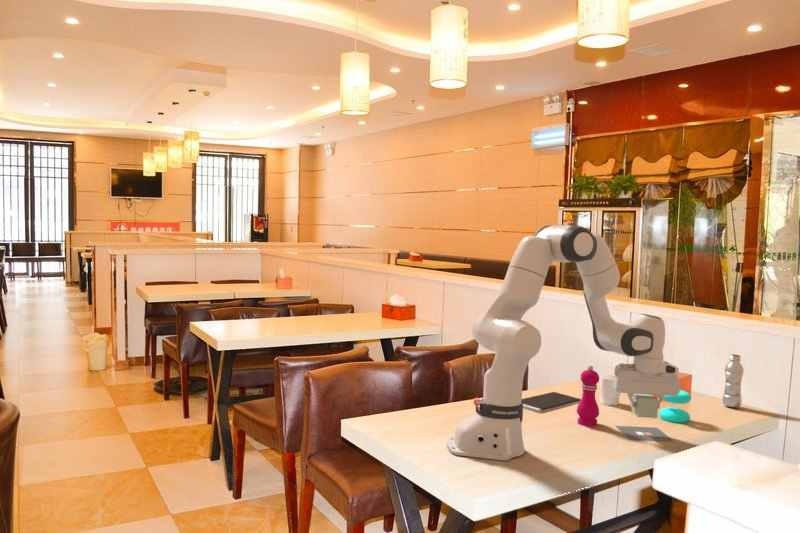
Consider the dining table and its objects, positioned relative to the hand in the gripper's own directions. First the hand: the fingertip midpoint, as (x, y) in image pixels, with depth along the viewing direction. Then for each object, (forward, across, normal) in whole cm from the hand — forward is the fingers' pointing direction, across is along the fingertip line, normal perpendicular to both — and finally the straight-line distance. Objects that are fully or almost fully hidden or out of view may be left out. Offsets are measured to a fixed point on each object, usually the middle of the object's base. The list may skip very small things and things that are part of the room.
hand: (644, 407), depth 199 cm
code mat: (+9, 0, 0) cm, 9 cm away
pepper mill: (+9, -16, +8) cm, 20 cm away
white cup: (+9, 0, +36) cm, 37 cm away
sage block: (+2, 0, 0) cm, 2 cm away
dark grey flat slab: (+10, -24, +33) cm, 42 cm away
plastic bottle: (+8, +48, +38) cm, 62 cm away
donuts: (+9, +18, +18) cm, 27 cm away
